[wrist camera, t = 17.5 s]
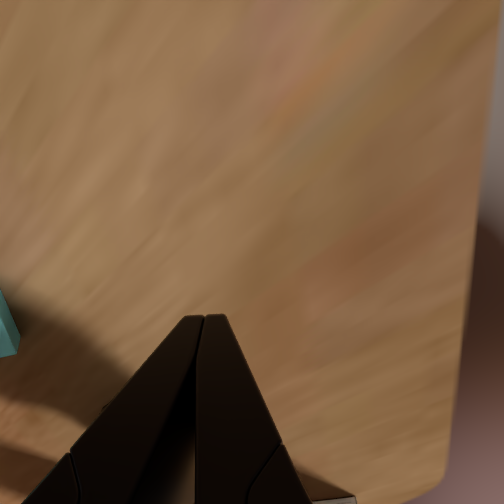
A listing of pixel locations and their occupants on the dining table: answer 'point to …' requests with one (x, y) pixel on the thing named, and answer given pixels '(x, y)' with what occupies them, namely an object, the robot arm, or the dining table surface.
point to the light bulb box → (338, 501)
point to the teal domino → (7, 331)
